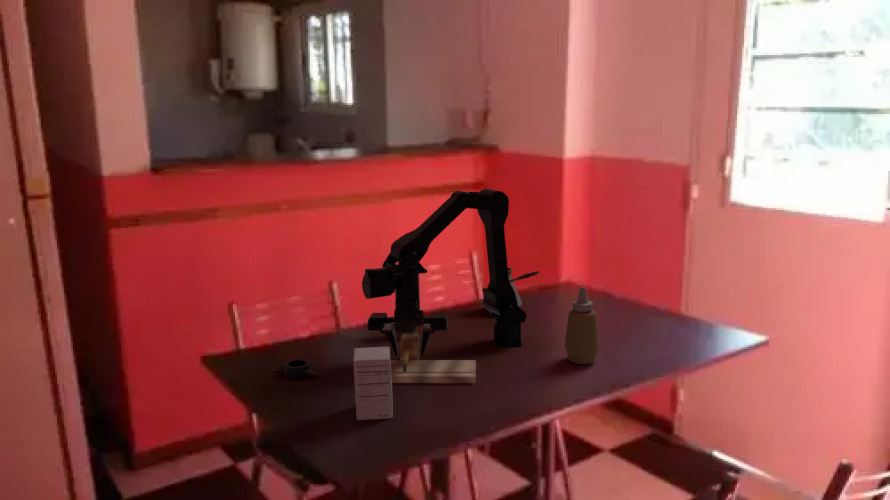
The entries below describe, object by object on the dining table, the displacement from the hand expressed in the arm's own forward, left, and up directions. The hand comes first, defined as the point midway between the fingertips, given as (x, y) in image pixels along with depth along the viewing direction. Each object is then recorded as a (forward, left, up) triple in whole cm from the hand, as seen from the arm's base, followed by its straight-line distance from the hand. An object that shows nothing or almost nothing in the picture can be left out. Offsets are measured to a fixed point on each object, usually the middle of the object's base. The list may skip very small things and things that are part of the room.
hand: (409, 355), depth 173 cm
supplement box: (+4, +28, -2) cm, 29 cm away
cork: (+3, -19, -2) cm, 19 cm away
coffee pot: (-26, -37, -2) cm, 45 cm away
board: (-5, +8, -2) cm, 10 cm away
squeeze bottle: (-41, -1, -2) cm, 41 cm away
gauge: (0, +5, -2) cm, 5 cm away
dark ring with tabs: (+25, +8, -2) cm, 26 cm away
